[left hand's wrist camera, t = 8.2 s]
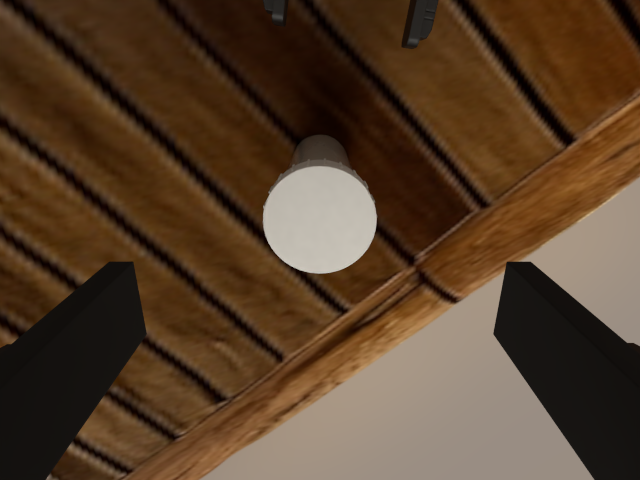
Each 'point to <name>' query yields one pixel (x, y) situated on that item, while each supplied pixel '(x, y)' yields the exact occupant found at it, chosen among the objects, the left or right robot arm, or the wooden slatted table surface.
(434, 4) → the right robot arm
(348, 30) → the wooden slatted table surface
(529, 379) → the left robot arm
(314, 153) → the jar
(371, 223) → the lid
